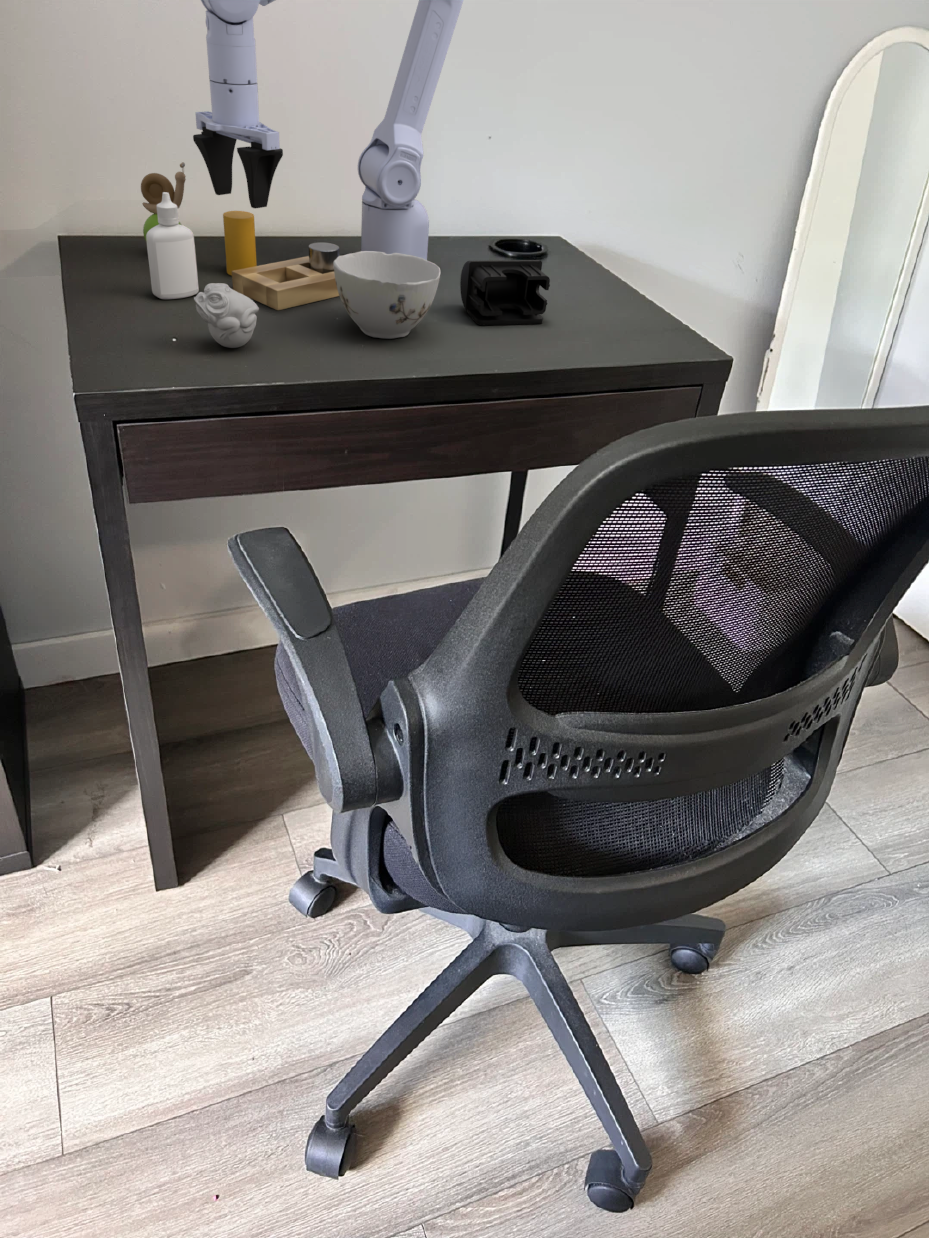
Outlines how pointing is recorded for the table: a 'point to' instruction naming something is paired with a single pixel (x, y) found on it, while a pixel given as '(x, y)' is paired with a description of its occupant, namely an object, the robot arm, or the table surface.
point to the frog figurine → (227, 314)
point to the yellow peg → (239, 240)
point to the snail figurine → (160, 194)
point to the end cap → (504, 291)
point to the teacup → (386, 290)
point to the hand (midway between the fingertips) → (241, 200)
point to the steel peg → (322, 257)
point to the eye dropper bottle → (171, 254)
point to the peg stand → (285, 283)
